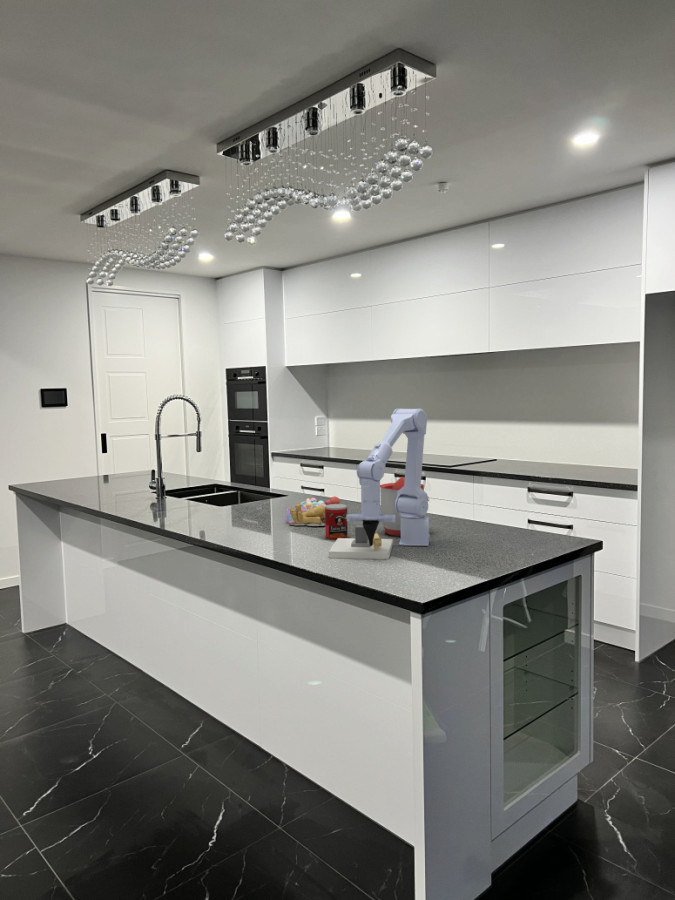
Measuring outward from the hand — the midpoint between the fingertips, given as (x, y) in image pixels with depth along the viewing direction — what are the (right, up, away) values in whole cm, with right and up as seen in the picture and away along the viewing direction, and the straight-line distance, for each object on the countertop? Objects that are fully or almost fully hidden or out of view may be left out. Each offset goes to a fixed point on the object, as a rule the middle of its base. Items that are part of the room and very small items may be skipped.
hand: (371, 545), depth 203 cm
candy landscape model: (-18, +1, +57) cm, 60 cm away
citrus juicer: (+13, -1, +32) cm, 34 cm away
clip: (+2, -1, +7) cm, 7 cm away
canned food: (-11, -2, +27) cm, 29 cm away
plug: (-3, -3, +7) cm, 8 cm away
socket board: (-3, -3, +7) cm, 8 cm away
